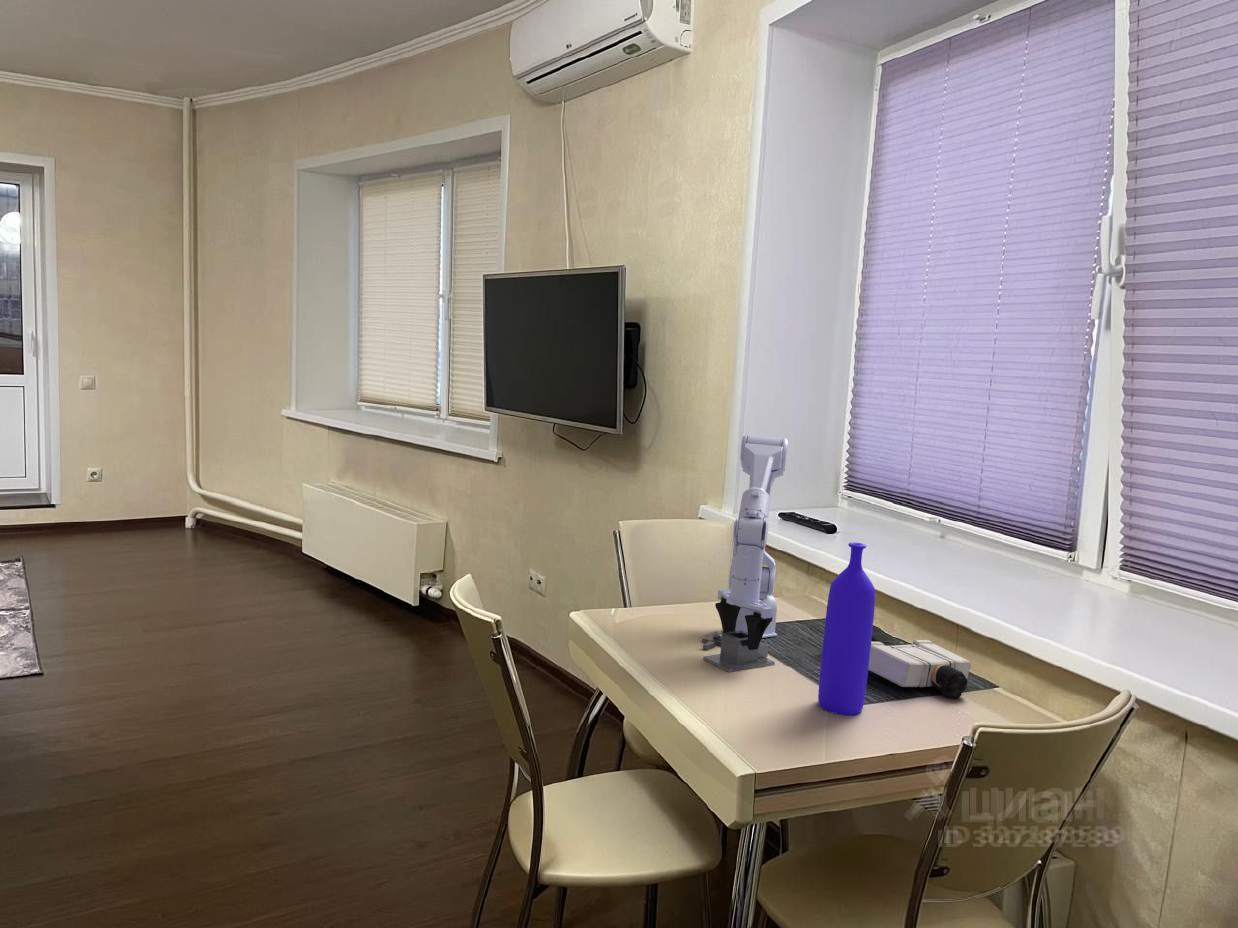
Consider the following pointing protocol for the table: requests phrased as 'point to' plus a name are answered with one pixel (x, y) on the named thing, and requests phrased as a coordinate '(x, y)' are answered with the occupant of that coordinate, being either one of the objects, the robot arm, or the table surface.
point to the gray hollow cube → (737, 648)
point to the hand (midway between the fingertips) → (740, 643)
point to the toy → (918, 664)
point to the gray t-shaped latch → (712, 640)
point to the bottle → (847, 639)
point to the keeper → (732, 667)
